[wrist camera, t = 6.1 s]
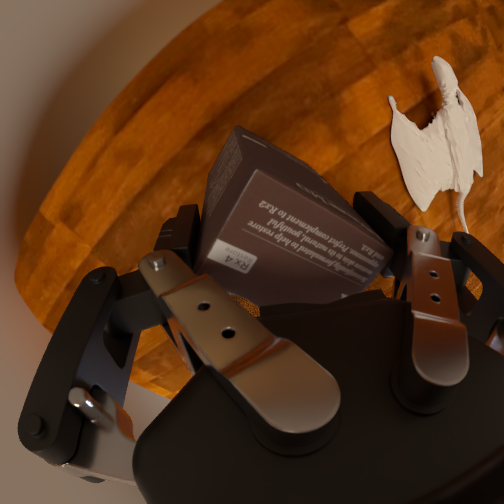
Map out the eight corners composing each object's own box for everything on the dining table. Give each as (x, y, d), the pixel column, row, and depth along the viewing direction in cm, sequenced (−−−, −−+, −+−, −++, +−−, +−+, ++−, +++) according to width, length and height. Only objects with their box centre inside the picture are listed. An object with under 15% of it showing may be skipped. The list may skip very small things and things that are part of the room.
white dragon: (481, 211, 23) (505, 229, 19) (415, 252, 25) (437, 277, 21) (450, 45, 14) (483, 47, 10) (361, 72, 16) (391, 73, 12)
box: (310, 160, 19) (401, 255, 9) (277, 210, 21) (325, 337, 11) (236, 117, 17) (255, 166, 7) (204, 174, 19) (184, 290, 9)
